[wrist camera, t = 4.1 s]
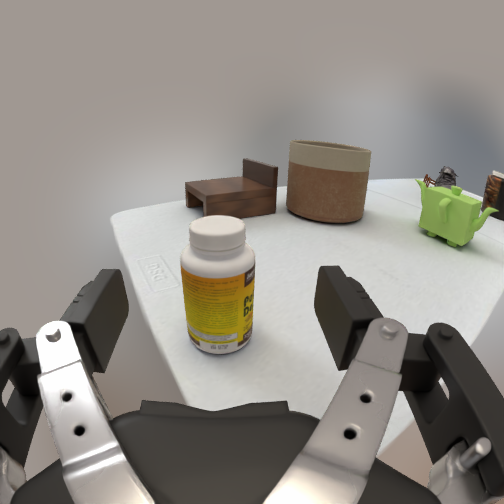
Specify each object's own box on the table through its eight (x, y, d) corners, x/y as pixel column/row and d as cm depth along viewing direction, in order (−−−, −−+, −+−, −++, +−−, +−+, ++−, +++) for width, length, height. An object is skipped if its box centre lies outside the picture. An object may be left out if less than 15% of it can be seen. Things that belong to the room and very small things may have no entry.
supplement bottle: (252, 358, 22) (258, 240, 18) (184, 355, 22) (168, 239, 18) (251, 315, 27) (255, 212, 23) (193, 314, 27) (185, 211, 23)
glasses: (422, 184, 102) (424, 172, 100) (449, 191, 97) (451, 180, 95) (426, 190, 91) (428, 177, 89) (456, 198, 86) (458, 185, 84)
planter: (344, 202, 65) (350, 144, 59) (375, 226, 51) (386, 154, 45) (278, 200, 64) (282, 138, 58) (296, 225, 49) (302, 145, 43)
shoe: (432, 211, 65) (440, 168, 60) (427, 193, 86) (432, 160, 81) (465, 221, 60) (474, 178, 55) (453, 200, 82) (458, 168, 76)
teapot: (486, 257, 41) (501, 204, 36) (433, 250, 42) (447, 190, 38) (454, 228, 54) (464, 184, 50) (406, 220, 56) (415, 173, 51)
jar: (496, 220, 66) (506, 175, 60) (475, 207, 77) (483, 166, 70) (513, 222, 67) (522, 181, 60) (492, 210, 78) (500, 172, 71)
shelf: (206, 224, 49) (205, 171, 45) (186, 205, 58) (184, 162, 54) (275, 213, 55) (278, 166, 51) (245, 197, 65) (246, 158, 61)
